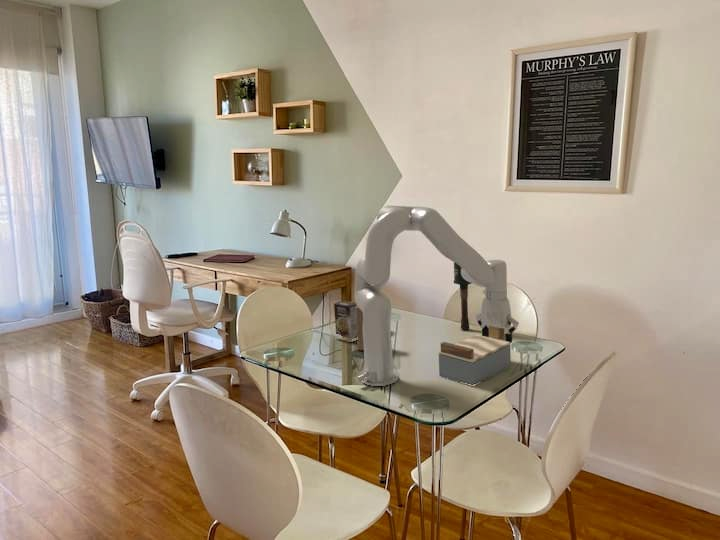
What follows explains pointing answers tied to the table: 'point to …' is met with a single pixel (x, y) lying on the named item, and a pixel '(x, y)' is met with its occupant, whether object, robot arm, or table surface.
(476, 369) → the grey open box
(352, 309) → the coffee box
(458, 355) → the lid
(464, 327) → the stick grenade
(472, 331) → the table surface
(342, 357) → the table surface
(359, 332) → the wooden block
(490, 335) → the brown wooden bar
